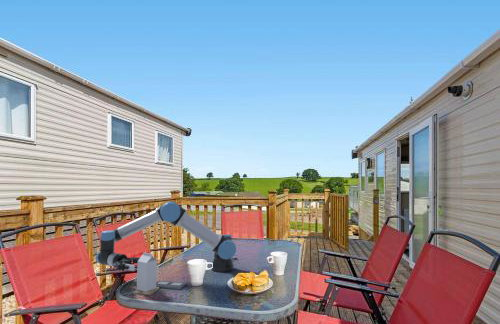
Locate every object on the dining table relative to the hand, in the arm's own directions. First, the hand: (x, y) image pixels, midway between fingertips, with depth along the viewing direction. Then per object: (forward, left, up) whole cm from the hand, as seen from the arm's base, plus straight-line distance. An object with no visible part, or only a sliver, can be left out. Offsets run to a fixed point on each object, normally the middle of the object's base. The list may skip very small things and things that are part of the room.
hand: (144, 265), depth 167 cm
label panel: (-11, -10, -13) cm, 20 cm away
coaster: (-2, 0, -13) cm, 13 cm away
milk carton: (-2, 0, -13) cm, 13 cm away
